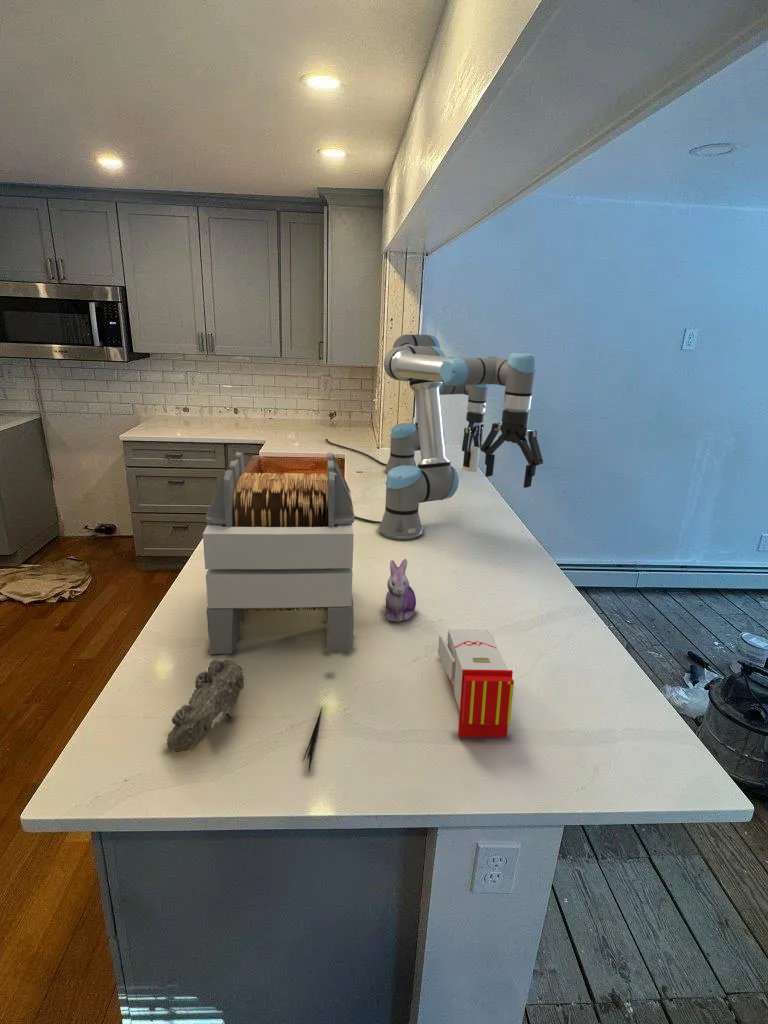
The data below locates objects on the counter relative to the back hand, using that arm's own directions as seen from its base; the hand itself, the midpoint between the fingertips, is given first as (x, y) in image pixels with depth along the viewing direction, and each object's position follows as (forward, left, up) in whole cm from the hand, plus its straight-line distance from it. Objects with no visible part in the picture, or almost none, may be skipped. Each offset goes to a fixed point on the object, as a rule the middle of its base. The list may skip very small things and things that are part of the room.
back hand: (470, 464), depth 246 cm
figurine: (+81, -79, -12) cm, 114 cm away
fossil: (+101, -130, -12) cm, 166 cm away
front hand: (+67, -36, +16) cm, 78 cm away
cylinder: (0, 0, -2) cm, 2 cm away
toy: (+115, -81, -12) cm, 141 cm away
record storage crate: (+71, -106, -12) cm, 128 cm away
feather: (+110, -112, -12) cm, 158 cm away
